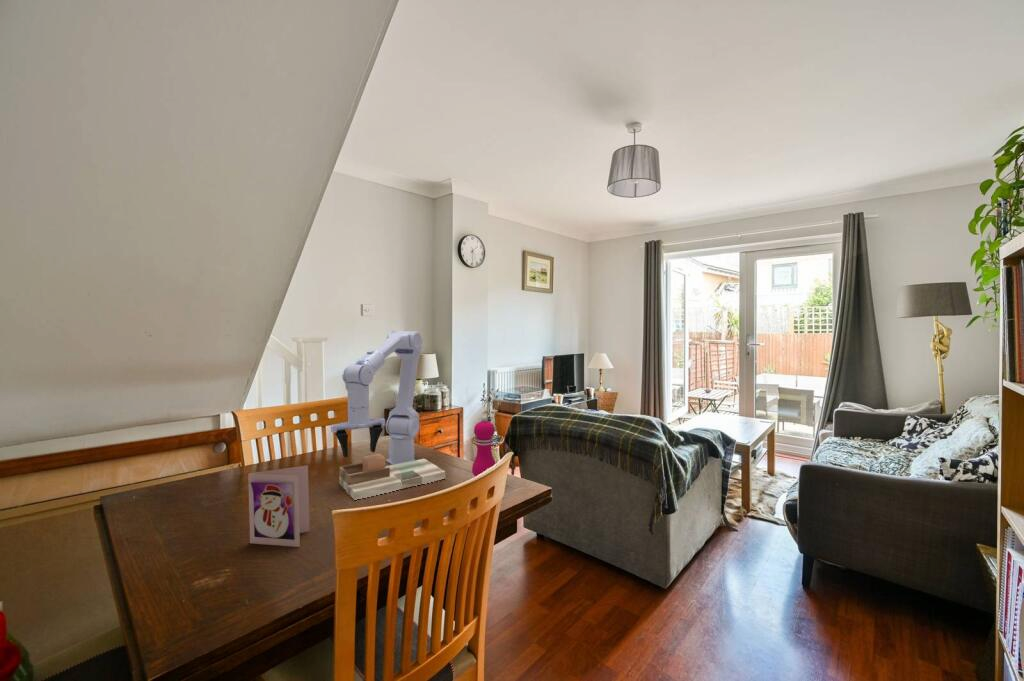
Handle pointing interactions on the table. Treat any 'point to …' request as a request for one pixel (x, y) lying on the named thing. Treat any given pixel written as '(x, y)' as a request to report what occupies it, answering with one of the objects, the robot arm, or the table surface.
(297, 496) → the greeting card
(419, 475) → the plate
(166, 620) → the table surface
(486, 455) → the pepper mill
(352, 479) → the wooden frame
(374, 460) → the cube
